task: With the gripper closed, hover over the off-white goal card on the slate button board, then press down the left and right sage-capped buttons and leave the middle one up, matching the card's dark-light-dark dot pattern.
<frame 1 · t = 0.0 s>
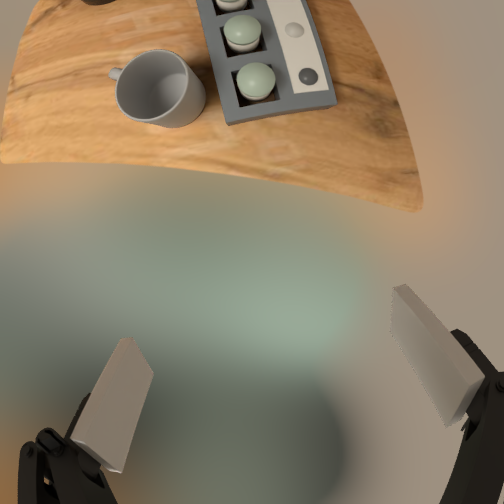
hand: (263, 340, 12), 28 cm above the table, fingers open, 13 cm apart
button board: (261, 46, 30), on the table
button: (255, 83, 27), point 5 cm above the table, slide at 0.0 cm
goal card: (294, 30, 25), resting on button board
button mid: (242, 35, 25), point 5 cm above the table, slide at 0.0 cm
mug: (166, 95, 32), on the table
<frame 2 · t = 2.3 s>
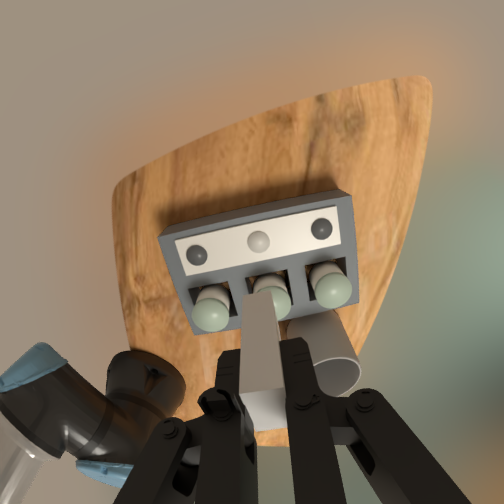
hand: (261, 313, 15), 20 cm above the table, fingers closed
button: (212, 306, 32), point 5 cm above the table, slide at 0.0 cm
button board: (264, 258, 36), on the table
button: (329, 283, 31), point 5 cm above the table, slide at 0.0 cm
goal card: (258, 241, 30), resting on button board
button mid: (270, 296, 31), point 5 cm above the table, slide at 0.0 cm
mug: (307, 335, 41), on the table
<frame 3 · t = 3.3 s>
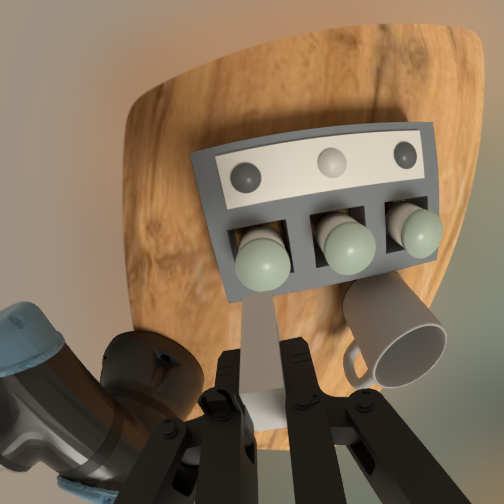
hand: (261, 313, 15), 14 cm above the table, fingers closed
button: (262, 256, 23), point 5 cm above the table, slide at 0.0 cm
button board: (324, 199, 26), on the table
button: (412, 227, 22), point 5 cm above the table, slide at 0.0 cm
goal card: (331, 163, 21), resting on button board
button mid: (343, 241, 22), point 5 cm above the table, slide at 0.0 cm
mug: (365, 309, 31), on the table
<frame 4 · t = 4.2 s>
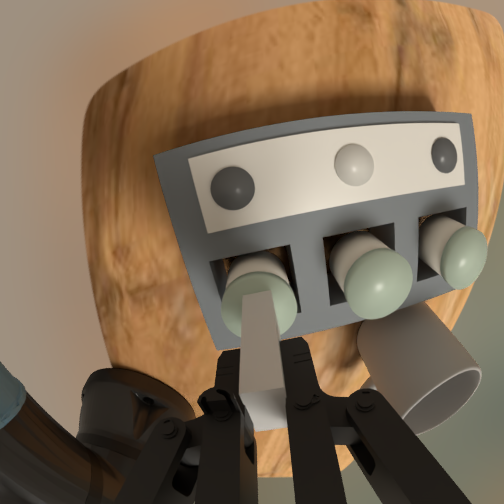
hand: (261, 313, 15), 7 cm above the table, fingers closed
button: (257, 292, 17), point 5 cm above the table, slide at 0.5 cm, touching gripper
button board: (338, 212, 20), on the table
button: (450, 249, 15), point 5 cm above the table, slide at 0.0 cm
goal card: (352, 164, 14), resting on button board
button mid: (368, 271, 16), point 5 cm above the table, slide at 0.0 cm
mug: (382, 339, 25), on the table
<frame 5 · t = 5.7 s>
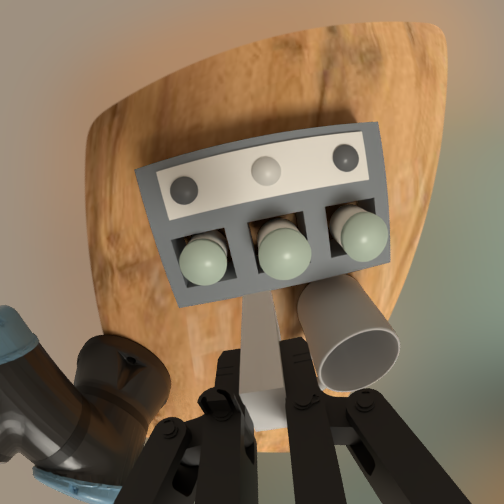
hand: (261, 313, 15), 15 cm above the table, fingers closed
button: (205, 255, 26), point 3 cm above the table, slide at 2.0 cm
button board: (269, 206, 28), on the table
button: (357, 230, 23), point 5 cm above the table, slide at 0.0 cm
goal card: (266, 171, 22), resting on button board
button mid: (281, 246, 24), point 5 cm above the table, slide at 0.0 cm
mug: (321, 313, 33), on the table
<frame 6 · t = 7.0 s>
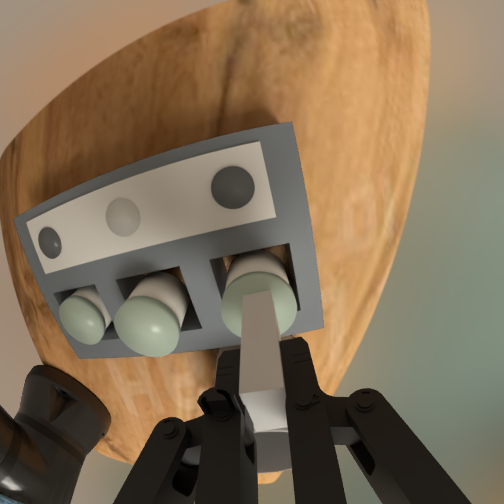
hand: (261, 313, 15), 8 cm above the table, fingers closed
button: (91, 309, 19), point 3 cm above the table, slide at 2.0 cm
button board: (163, 248, 21), on the table
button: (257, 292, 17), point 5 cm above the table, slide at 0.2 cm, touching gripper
goal card: (124, 216, 16), resting on button board
button mid: (154, 312, 17), point 5 cm above the table, slide at 0.0 cm
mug: (251, 368, 26), on the table
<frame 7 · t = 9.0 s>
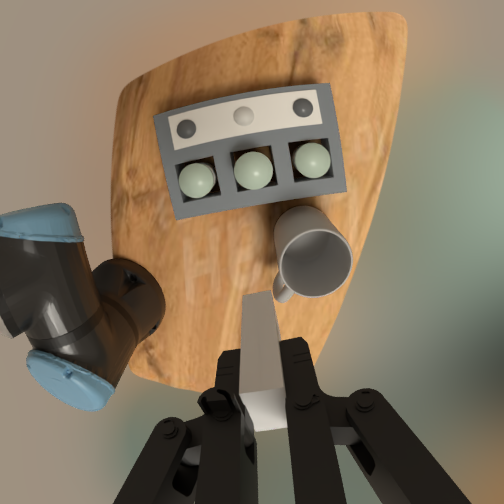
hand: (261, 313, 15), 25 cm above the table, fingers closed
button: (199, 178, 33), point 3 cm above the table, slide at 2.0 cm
button board: (251, 148, 35), on the table
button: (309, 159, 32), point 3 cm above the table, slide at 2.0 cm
goal card: (244, 116, 29), resting on button board
button mid: (253, 169, 31), point 5 cm above the table, slide at 0.0 cm
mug: (296, 242, 40), on the table
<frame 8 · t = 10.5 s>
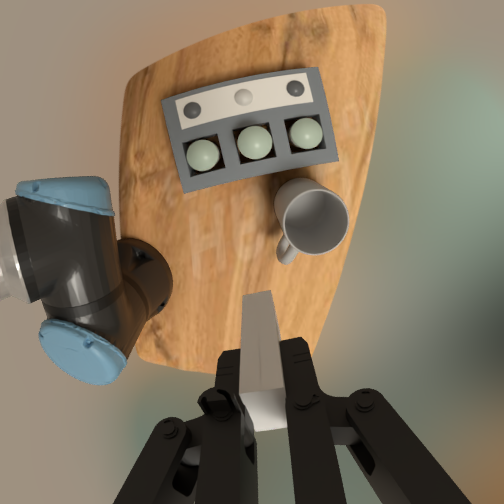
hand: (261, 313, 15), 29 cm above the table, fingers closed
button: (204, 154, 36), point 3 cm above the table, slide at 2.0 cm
button board: (250, 127, 38), on the table
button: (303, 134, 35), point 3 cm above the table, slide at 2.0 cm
goal card: (243, 97, 32), resting on button board
button mid: (254, 142, 33), point 5 cm above the table, slide at 0.0 cm
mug: (295, 213, 43), on the table
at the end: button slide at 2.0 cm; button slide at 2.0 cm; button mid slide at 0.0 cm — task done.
